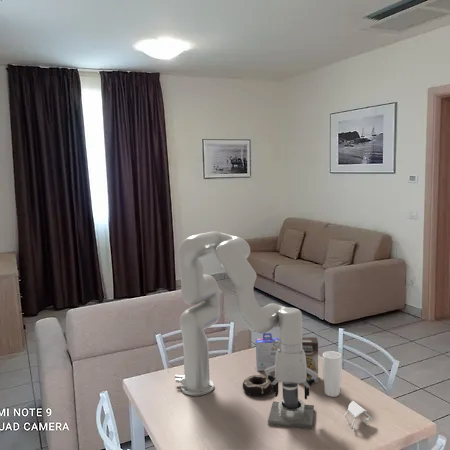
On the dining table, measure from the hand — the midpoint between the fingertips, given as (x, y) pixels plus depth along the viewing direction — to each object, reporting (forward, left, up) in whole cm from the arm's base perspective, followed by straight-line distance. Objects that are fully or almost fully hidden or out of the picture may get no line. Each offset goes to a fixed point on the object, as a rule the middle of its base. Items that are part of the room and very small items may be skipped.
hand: (291, 396), depth 143 cm
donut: (-14, +16, -8) cm, 23 cm away
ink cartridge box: (-13, +35, -8) cm, 38 cm away
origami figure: (+21, +2, -8) cm, 22 cm away
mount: (0, 0, -7) cm, 7 cm away
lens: (0, 0, -6) cm, 6 cm away
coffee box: (+3, +28, -8) cm, 29 cm away
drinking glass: (+13, +18, -7) cm, 23 cm away
